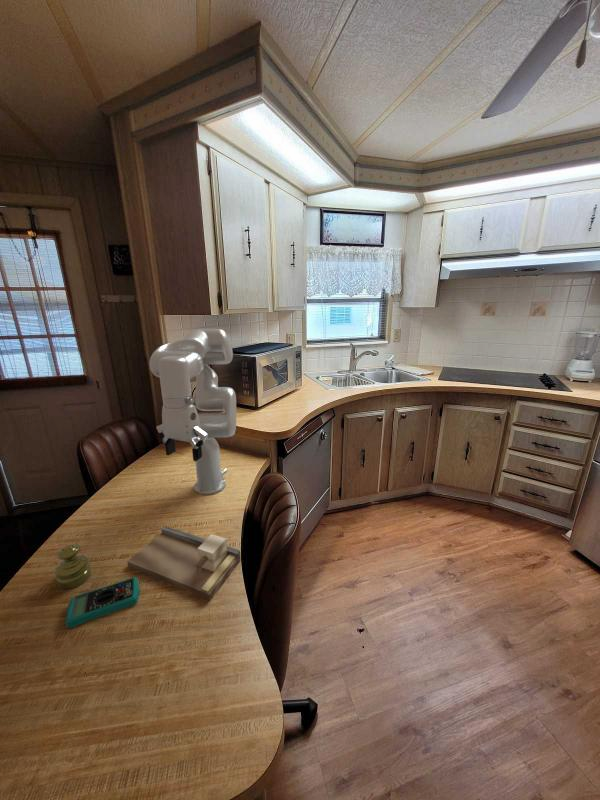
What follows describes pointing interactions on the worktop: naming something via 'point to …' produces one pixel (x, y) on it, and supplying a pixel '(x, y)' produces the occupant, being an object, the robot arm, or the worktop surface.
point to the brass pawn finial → (72, 567)
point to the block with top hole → (212, 553)
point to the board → (182, 563)
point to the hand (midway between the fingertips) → (184, 456)
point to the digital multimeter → (102, 602)
